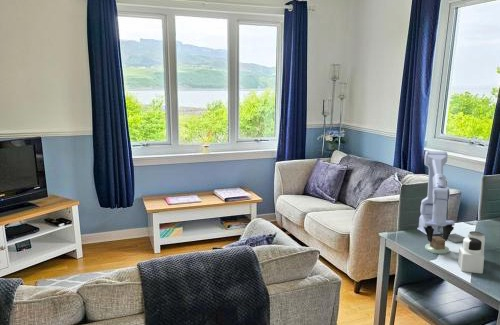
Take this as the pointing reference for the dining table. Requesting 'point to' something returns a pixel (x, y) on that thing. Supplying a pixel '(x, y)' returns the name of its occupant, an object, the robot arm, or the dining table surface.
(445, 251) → the sage dish
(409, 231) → the dining table surface
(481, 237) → the can
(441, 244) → the walnut block
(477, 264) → the container
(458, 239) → the slate coaster
